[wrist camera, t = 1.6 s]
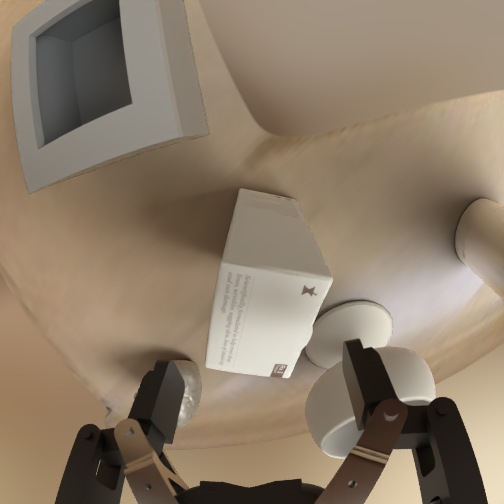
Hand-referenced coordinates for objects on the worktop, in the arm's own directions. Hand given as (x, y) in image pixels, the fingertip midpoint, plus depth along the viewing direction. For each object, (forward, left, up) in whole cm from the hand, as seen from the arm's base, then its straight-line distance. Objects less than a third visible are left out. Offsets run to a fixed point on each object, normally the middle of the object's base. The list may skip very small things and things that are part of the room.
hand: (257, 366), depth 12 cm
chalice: (-9, +16, -18) cm, 25 cm away
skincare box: (0, 0, -18) cm, 18 cm away
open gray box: (+10, -19, -17) cm, 28 cm away
